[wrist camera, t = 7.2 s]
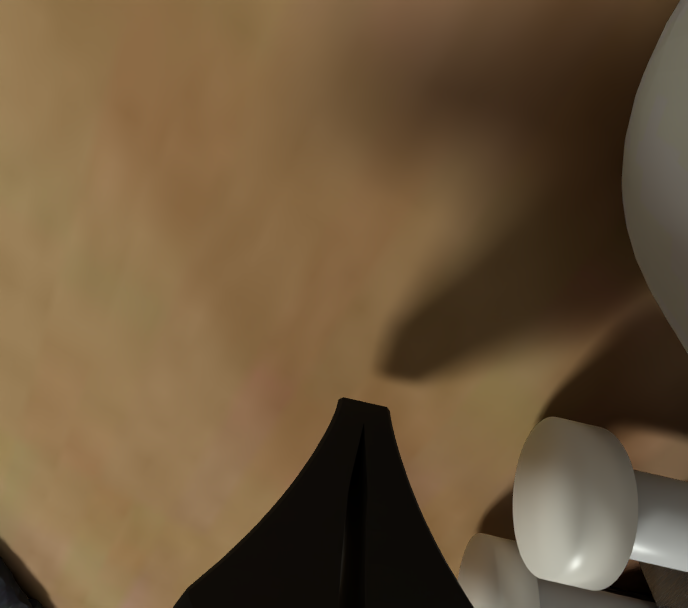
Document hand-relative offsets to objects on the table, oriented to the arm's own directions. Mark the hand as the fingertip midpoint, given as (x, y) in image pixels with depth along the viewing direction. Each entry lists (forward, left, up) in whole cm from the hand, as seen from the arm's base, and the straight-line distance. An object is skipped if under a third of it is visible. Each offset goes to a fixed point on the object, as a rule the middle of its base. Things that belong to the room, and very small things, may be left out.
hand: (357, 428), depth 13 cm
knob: (0, -9, -1) cm, 9 cm away
